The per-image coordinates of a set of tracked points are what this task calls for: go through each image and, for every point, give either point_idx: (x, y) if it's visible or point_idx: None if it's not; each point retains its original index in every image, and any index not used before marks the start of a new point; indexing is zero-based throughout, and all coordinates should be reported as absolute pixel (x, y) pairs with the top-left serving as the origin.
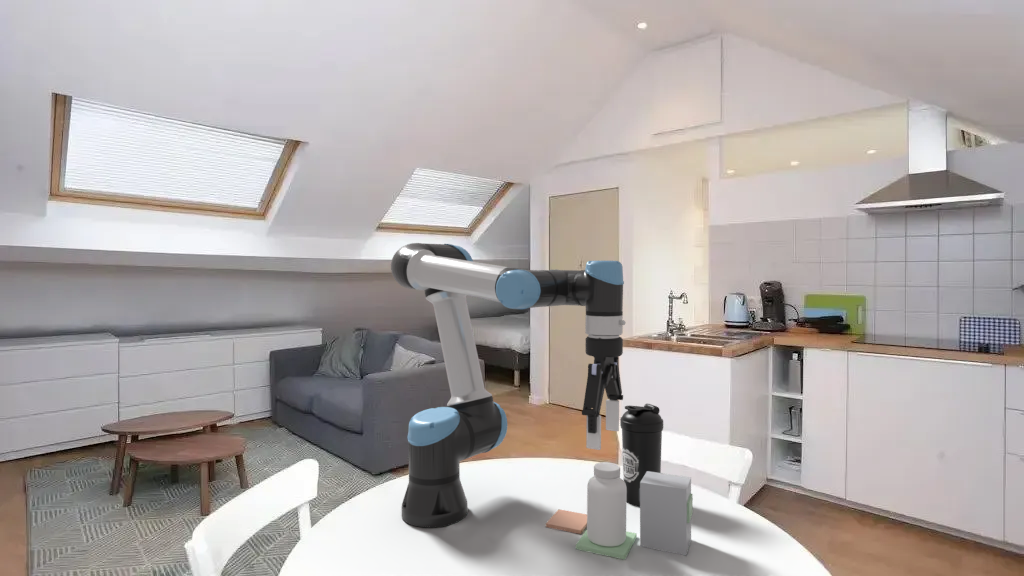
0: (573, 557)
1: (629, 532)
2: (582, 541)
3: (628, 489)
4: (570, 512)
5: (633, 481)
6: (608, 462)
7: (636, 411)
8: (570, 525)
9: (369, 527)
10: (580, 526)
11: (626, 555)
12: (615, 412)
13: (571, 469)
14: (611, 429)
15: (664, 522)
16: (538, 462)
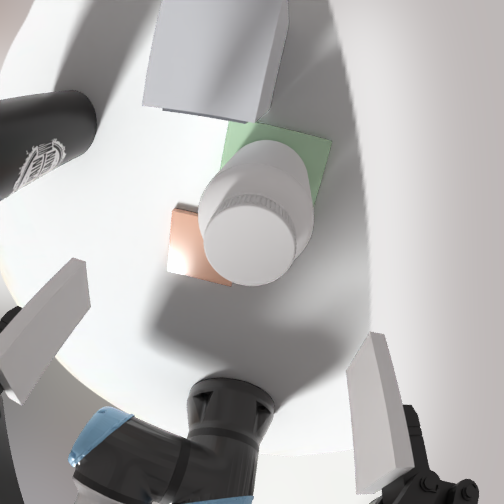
0: (335, 231)
1: (228, 132)
2: None
3: (73, 153)
4: (173, 250)
5: (65, 147)
6: (206, 244)
7: None
8: None
9: (282, 435)
10: None
11: (321, 138)
12: (37, 328)
13: (18, 257)
14: (85, 289)
15: (277, 57)
16: (24, 303)
